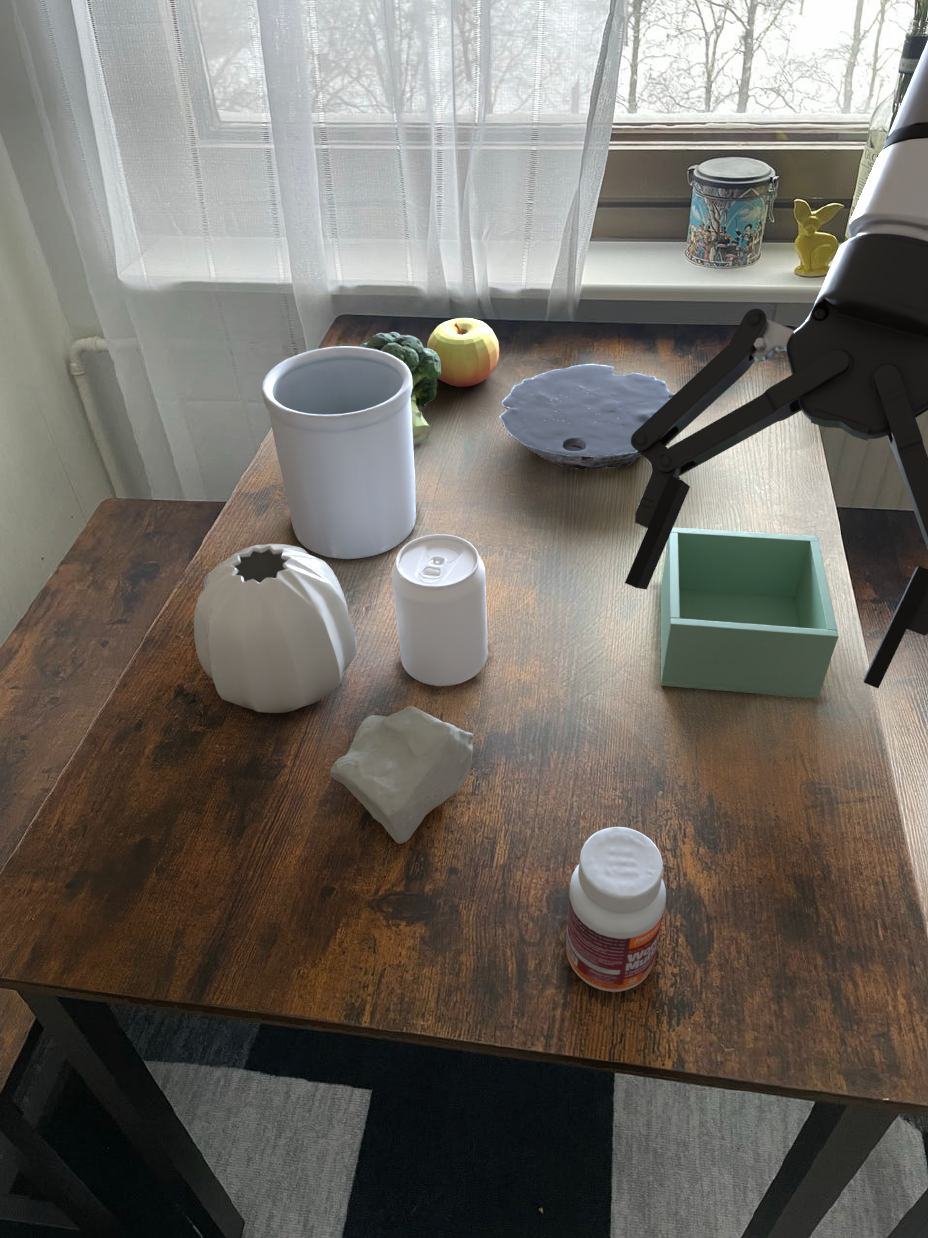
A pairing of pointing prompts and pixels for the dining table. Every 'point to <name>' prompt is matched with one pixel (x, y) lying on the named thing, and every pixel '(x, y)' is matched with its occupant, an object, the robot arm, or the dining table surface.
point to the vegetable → (413, 373)
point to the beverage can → (440, 609)
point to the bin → (745, 613)
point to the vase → (273, 628)
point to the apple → (465, 351)
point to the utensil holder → (345, 448)
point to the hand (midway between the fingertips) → (747, 633)
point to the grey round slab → (583, 414)
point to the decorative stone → (405, 767)
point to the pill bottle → (615, 909)
